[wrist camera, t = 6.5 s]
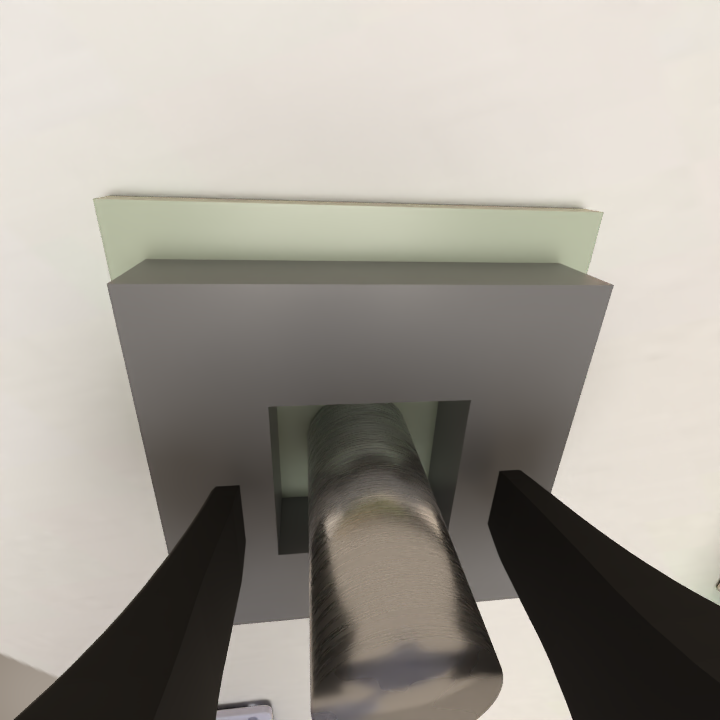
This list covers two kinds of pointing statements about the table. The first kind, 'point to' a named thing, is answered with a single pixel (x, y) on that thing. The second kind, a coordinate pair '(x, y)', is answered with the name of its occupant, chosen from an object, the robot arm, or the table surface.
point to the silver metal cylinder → (386, 581)
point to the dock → (348, 355)
